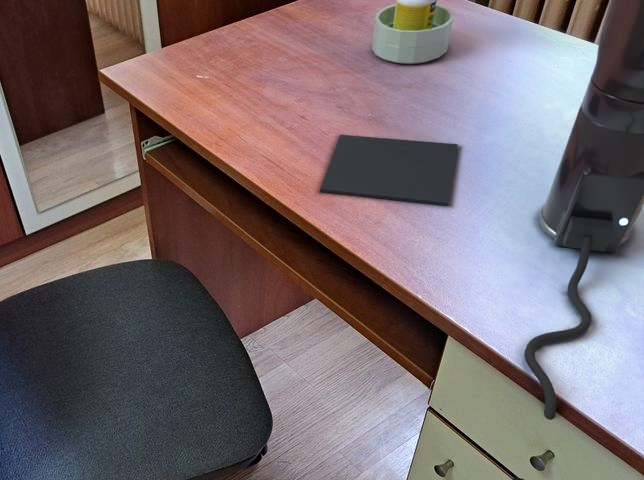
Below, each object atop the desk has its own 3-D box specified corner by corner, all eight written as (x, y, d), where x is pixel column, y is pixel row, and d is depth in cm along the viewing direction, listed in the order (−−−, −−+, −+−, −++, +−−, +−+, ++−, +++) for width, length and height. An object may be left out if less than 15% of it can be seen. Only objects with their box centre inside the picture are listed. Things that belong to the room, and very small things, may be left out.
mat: (447, 206, 81) (448, 202, 81) (319, 192, 86) (319, 188, 86) (457, 147, 90) (457, 144, 90) (339, 137, 95) (340, 134, 95)
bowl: (443, 67, 106) (450, 33, 102) (366, 64, 110) (370, 30, 106) (450, 36, 113) (456, 2, 109) (378, 33, 117) (381, 1, 113)
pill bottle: (430, 54, 108) (443, -19, 100) (391, 55, 110) (401, -16, 101) (426, 38, 112) (438, -33, 104) (389, 40, 114) (398, -30, 106)
